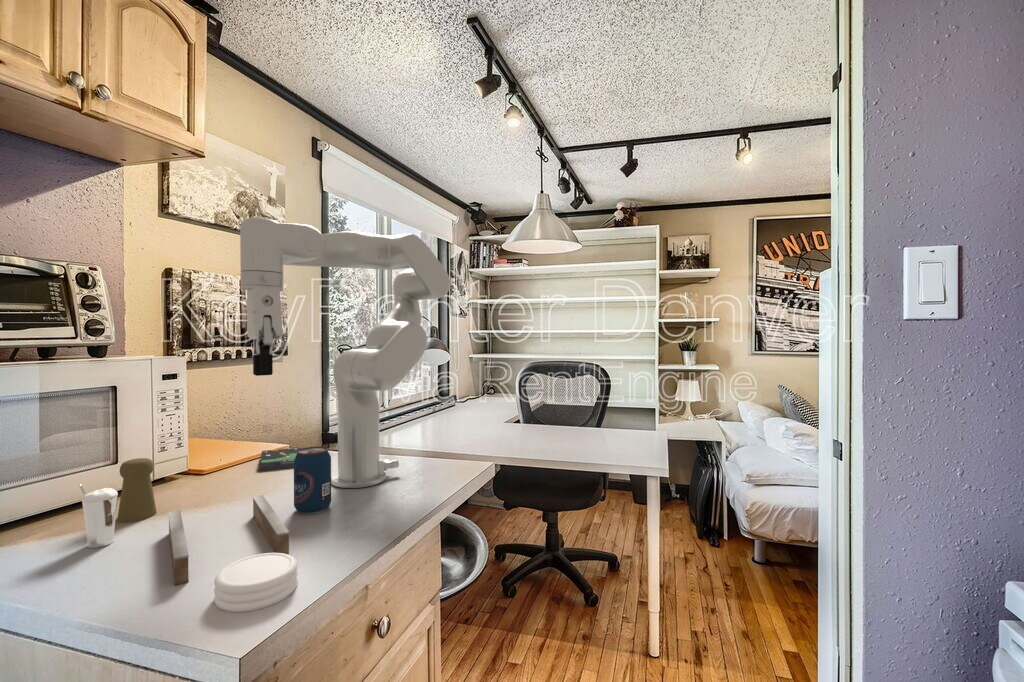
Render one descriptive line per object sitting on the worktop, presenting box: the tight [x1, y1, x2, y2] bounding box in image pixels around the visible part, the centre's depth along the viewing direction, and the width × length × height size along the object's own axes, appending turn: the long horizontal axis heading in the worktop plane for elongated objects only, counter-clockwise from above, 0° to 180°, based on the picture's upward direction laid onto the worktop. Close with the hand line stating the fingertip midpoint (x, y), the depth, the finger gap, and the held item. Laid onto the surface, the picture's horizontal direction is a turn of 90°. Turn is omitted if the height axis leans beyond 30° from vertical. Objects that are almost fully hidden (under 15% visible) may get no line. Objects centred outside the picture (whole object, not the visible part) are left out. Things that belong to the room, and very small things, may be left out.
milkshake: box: [79, 484, 119, 549], centre depth 80 cm, size 4×5×10 cm
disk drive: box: [258, 447, 302, 472], centre depth 132 cm, size 10×3×15 cm
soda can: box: [293, 446, 332, 515], centre depth 96 cm, size 7×7×12 cm
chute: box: [168, 494, 290, 586], centre depth 80 cm, size 15×22×4 cm
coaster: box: [213, 552, 299, 613], centre depth 65 cm, size 10×10×4 cm
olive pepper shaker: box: [116, 457, 158, 523], centre depth 92 cm, size 6×6×11 cm
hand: (263, 374), depth 95 cm, fingers closed
